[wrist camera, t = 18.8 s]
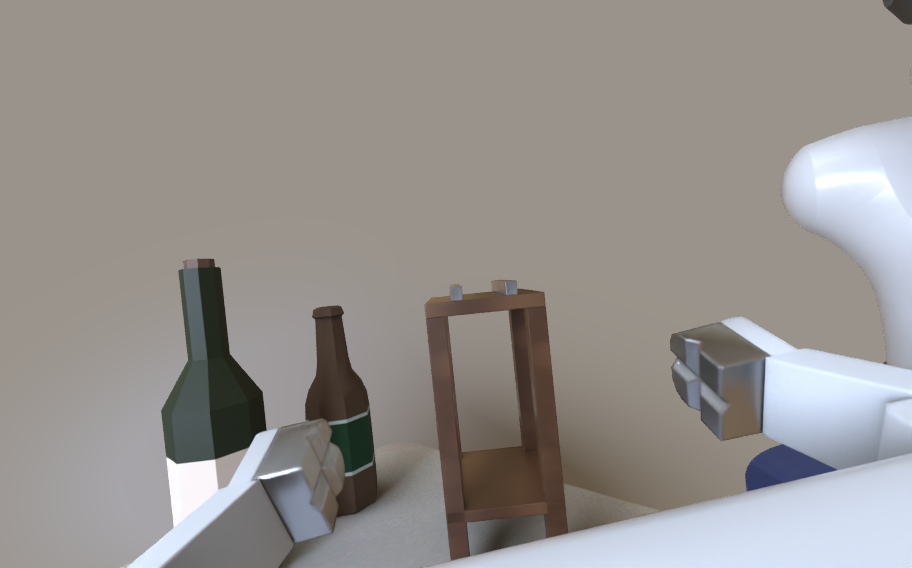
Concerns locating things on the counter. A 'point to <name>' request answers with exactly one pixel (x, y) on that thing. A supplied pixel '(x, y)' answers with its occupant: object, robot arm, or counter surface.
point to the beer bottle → (343, 410)
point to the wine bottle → (207, 398)
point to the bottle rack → (538, 459)
